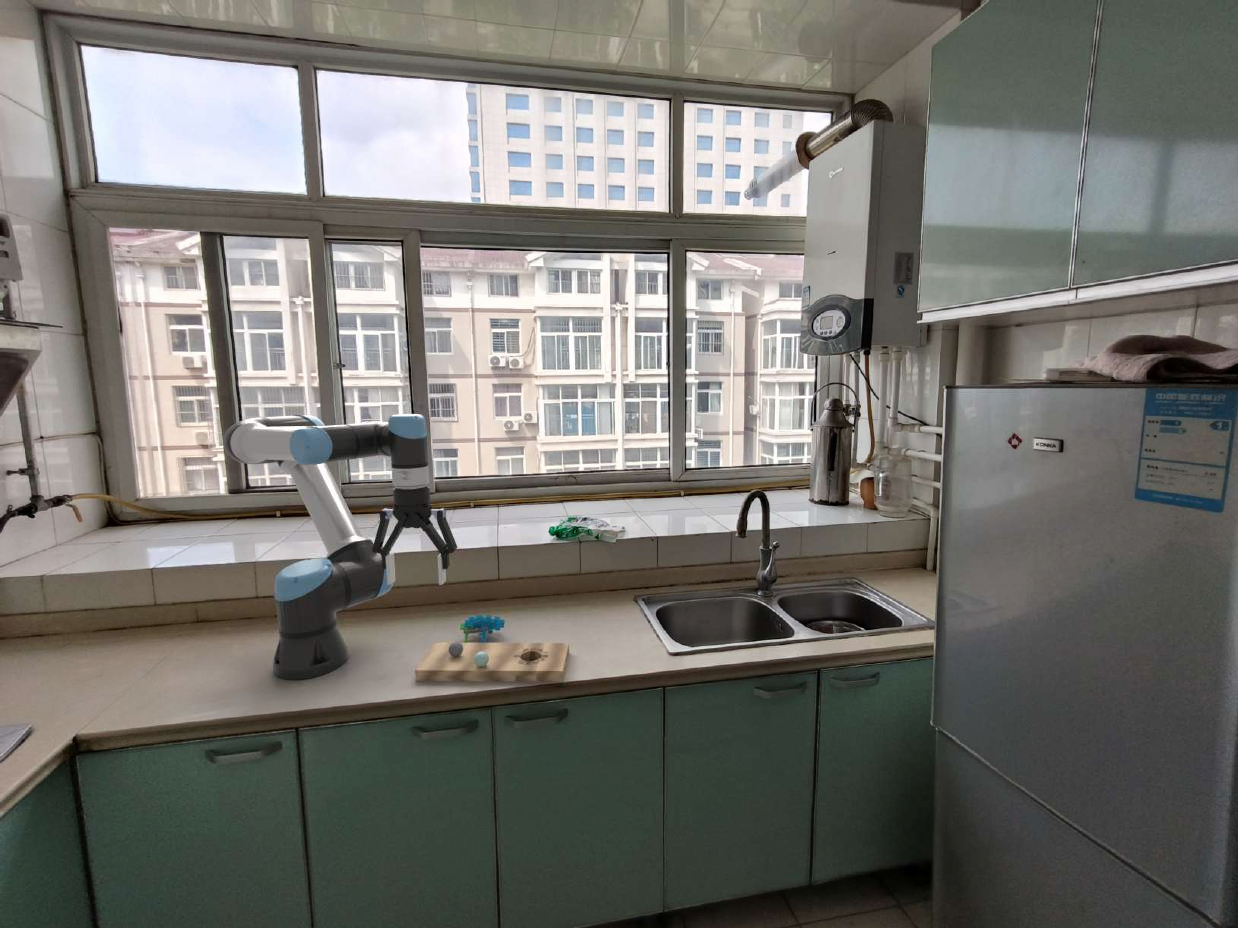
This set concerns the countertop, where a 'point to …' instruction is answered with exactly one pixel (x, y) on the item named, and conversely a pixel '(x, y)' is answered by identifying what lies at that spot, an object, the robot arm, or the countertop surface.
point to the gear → (481, 626)
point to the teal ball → (481, 659)
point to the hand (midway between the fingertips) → (417, 582)
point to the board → (496, 663)
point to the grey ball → (455, 649)
